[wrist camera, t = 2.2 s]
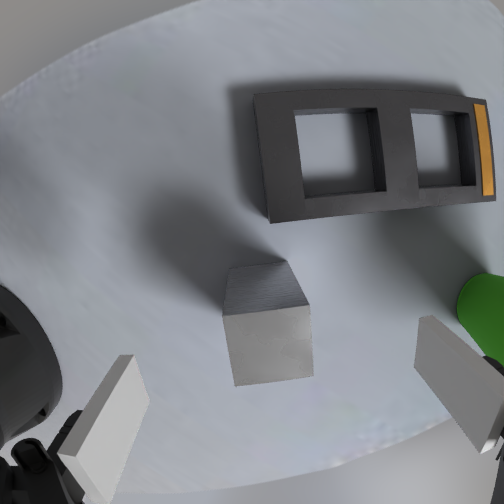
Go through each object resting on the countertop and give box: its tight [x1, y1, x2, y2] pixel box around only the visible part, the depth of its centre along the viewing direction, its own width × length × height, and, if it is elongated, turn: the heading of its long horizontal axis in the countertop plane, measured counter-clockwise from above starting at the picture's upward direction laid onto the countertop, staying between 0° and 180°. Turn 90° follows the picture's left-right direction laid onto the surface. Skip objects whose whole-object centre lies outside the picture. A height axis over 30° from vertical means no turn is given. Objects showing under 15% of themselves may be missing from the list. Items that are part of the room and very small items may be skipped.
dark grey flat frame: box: [253, 89, 496, 224], centre depth 20 cm, size 18×8×2 cm, turn 97°
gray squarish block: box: [222, 261, 314, 386], centre depth 19 cm, size 4×4×8 cm
